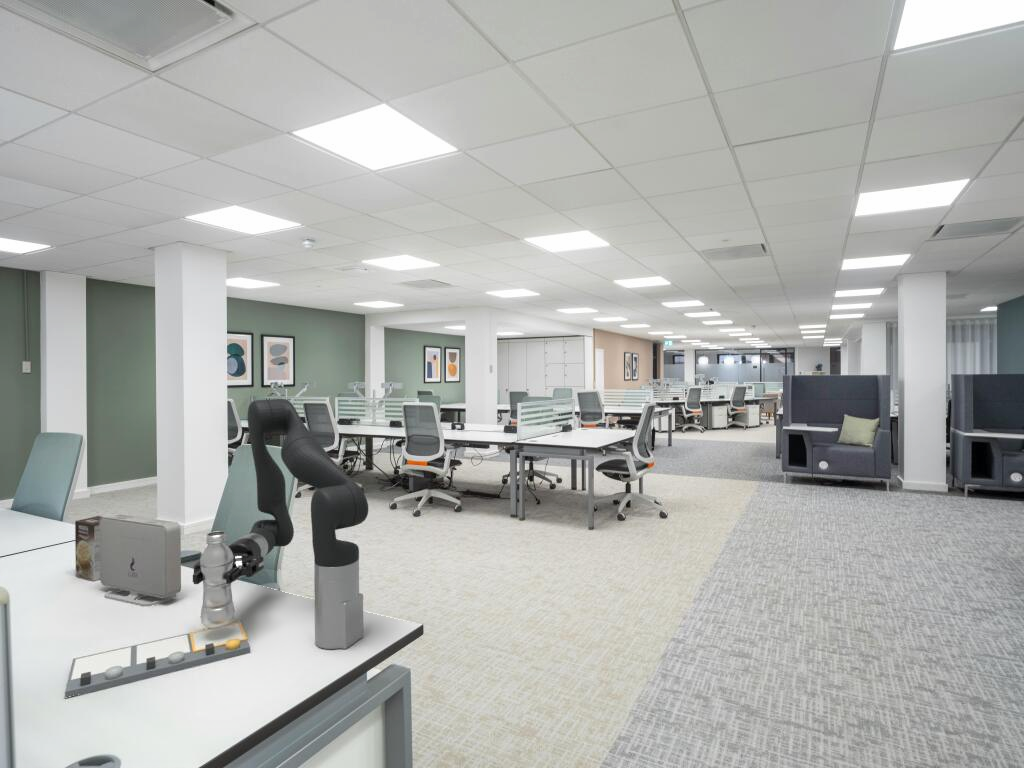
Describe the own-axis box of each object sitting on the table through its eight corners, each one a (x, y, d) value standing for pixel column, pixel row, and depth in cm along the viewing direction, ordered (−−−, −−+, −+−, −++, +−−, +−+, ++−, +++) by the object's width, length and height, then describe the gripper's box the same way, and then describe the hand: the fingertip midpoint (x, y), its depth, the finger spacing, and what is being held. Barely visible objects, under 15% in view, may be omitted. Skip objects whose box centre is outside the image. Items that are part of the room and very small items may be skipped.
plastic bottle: (222, 616, 125) (220, 527, 124) (241, 623, 122) (239, 531, 121) (194, 628, 120) (191, 535, 119) (213, 635, 116) (210, 540, 115)
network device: (91, 594, 147) (90, 518, 146) (124, 583, 155) (124, 511, 154) (158, 610, 137) (157, 528, 137) (191, 597, 145) (190, 519, 145)
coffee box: (74, 576, 160) (73, 520, 159) (98, 569, 166) (98, 515, 165) (93, 581, 156) (92, 524, 156) (117, 574, 162) (117, 518, 161)
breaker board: (240, 627, 128) (240, 615, 128) (250, 652, 116) (250, 640, 116) (73, 664, 111) (72, 651, 111) (65, 698, 99) (64, 684, 99)
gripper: (215, 537, 134) (176, 562, 117) (276, 537, 135) (246, 561, 118) (215, 569, 134) (176, 597, 117) (276, 568, 135) (246, 596, 118)
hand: (211, 579), depth 118 cm, fingers closed on plastic bottle, 6 cm apart
